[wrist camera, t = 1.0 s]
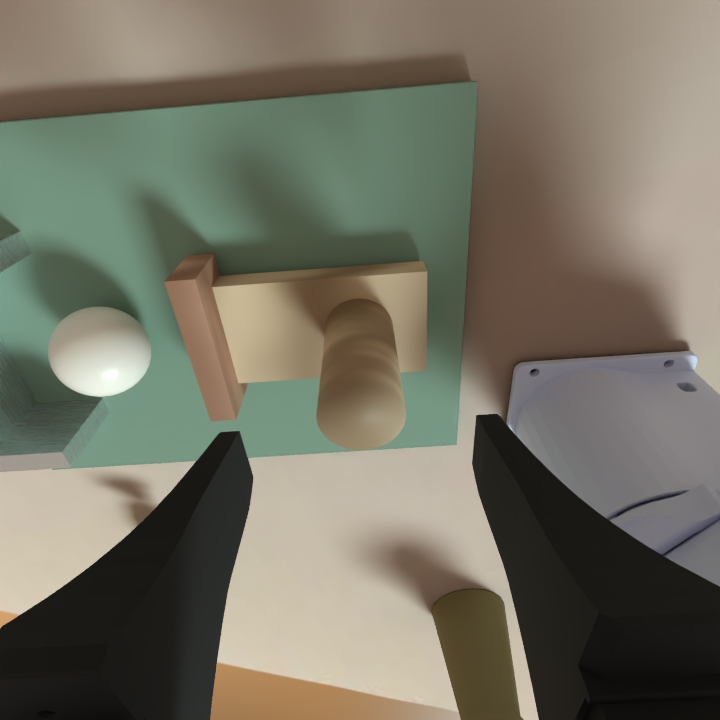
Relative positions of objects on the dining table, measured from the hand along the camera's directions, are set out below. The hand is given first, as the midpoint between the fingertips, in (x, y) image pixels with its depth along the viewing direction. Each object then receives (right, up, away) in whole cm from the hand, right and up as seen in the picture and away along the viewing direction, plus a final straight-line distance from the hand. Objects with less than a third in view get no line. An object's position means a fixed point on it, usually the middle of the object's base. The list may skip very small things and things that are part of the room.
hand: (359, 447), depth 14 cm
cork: (+9, -18, +24) cm, 32 cm away
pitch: (-7, +5, +9) cm, 12 cm away
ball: (-11, +3, +6) cm, 13 cm away
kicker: (-2, +5, +7) cm, 9 cm away
